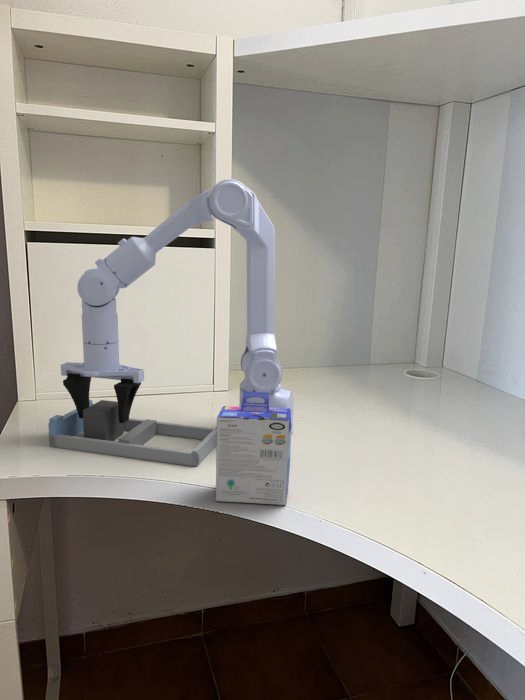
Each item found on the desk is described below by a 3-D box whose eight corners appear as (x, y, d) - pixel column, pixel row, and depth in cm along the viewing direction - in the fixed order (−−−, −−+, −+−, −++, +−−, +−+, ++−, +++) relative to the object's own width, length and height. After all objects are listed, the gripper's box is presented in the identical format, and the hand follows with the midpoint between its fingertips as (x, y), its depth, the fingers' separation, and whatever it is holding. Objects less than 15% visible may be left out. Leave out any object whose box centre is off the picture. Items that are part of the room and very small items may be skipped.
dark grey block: (123, 434, 97) (122, 402, 96) (105, 447, 91) (104, 412, 90) (102, 432, 98) (101, 399, 97) (84, 444, 92) (82, 410, 91)
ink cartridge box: (288, 488, 79) (293, 391, 76) (288, 506, 73) (292, 403, 70) (220, 484, 79) (221, 387, 76) (214, 502, 74) (215, 399, 71)
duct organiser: (221, 440, 96) (221, 414, 95) (196, 466, 85) (197, 438, 84) (88, 423, 102) (87, 399, 101) (49, 446, 91) (48, 419, 90)
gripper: (47, 342, 89) (52, 421, 92) (129, 349, 86) (131, 431, 88) (72, 334, 96) (76, 409, 99) (149, 340, 92) (150, 417, 95)
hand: (103, 418), depth 94 cm, fingers open, 7 cm apart
